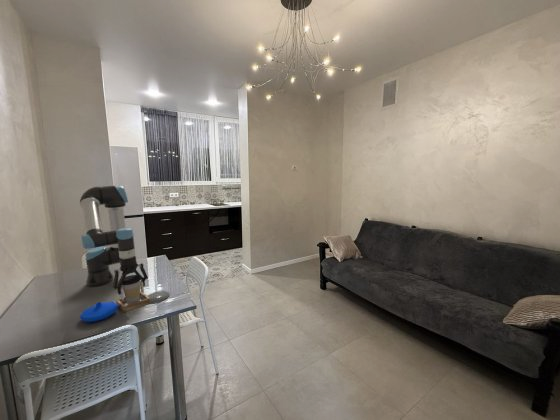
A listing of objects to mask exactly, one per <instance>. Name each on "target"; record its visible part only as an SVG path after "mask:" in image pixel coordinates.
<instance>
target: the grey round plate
mask: <svg viewBox="0 0 560 420" xmlns="http://www.w3.org/2000/svg"><path fill="white" fill-rule="evenodd" d="M146 295H147V294H146ZM147 296H148V297H150V300H151V301H149V302H148V304H149V303H152V304H158V303H161V302H164V301H166V300H167V299H168V298H170V293H169V292H168V291H166V290H161V291H160V290H159V291H155V292H154V291H153V292H152V293H149V294H148V295H147ZM144 299H145V298H144ZM144 299H143V300H144Z"/></svg>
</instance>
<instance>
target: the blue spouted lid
mask: <svg viewBox="0 0 560 420" xmlns="http://www.w3.org/2000/svg"><path fill="white" fill-rule="evenodd" d="M118 308H119V306H118V305H117V303H116V302H113V301H107V302H97V303H95V304H94V305H92V306H90V307H87V308H86V309H84V310H83V311H82V312H81V313H80V316H79V318H80V320H81V321H83V322H86V323H87V322H89V323H90V322H91V323H93V322H98V321H102V320H104V319H107V318H109V317H110V316H111V315H113V314H115V313H116V312H117V311H118Z"/></svg>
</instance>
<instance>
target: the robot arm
mask: <svg viewBox="0 0 560 420" xmlns="http://www.w3.org/2000/svg"><path fill="white" fill-rule="evenodd" d="M128 202H129V201H128V196H127V192H126V189H125V186H123V185H103V186H92V187H91V188H88V189H87V190H86V191H84V192H83V193H82V195H81V196H80V199H79V206H80V208H81V209H82V213H83V221H84V229H85V230H84V231H85V234H83V235H81V244H82V248H83V249H84V250H85V249H89V250H88V251H86V252H85V253H84V254H85V261H86V267H87V268H86V269H87V278H86V281H85V284H86V287H88V286H89V287H90V288H96V287H100V286H101V287H102V286H104V285H108V284H109V283H111V282H113V283H112V288H113V289H114V290H117V294H118V295H119V296H120V299H122V300H124V297H125V294H124V290H123V285H122V283H123V282H124V279H125V277H127V275H130V274H133V273H135V274H134V275H137V276H139V278H140V279H141V280H140V292H142V293H144V294H145V288H144V287H145V286H146V280H148V278H149V277H148V275H147V272H146V270H145V268H144V263H142V262H138V263H137V256H136V249H135V241H134V240H135V238H134V231H133V228H131V227H126V221H125V212H124V211H125V209H124V208H125V207H126V205H127V203H128ZM100 206H104V208H105V209H107V210H108V213H107V214H108V220H109V226H110V228H109V229H110V231H103V226H102V221H101V219H102V218H101V213H100V208H99V207H100ZM107 246H109V247H107ZM117 264H120V265H119V266H120V267H119V268H118V269H114V270H113V272H114V274H113V272H112V271H111V269H110V266H111V265H112V266H113V265H117ZM138 267H139V269H140V272H141V273H142V275H141V274H140V272H139V271H138V270H137V268H138ZM120 273H121V276H120ZM119 277H120V279H119ZM89 287H88V288H89Z"/></svg>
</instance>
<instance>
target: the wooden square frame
mask: <svg viewBox="0 0 560 420" xmlns="http://www.w3.org/2000/svg"><path fill="white" fill-rule="evenodd" d="M140 298H142V300H140V301H139V302H136V303H134V304H131V305H128V304H127V306H126V305H124V303H127V300H126V297H125V296H124V300H122V299H121V298H119V299H116V300H115V301H116V302H115V303H116V304H117V305H118V308H120V310H121V311H122V312H124V313H127V312H129V311H132V310H134V309H137V308H139V307H143V306H144V305H147V304H149V303H148V302H149V301H151V300H150V297H148V296H147V294H146V293H145V292H144V293H142V292H141V291H140ZM144 298H145V299H144Z"/></svg>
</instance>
